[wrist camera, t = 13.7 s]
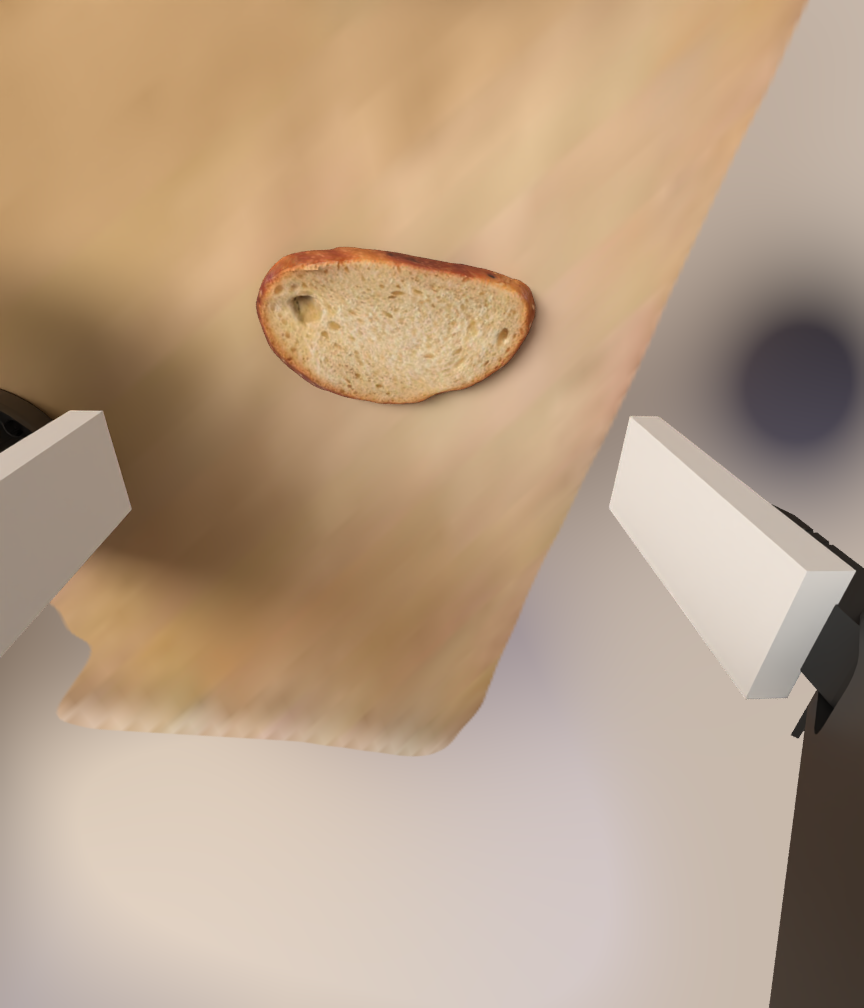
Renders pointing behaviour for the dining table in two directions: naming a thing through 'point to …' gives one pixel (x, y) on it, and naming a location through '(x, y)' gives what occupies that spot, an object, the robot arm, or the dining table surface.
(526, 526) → the dining table surface
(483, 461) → the dining table surface
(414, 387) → the bread slice
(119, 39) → the dining table surface
